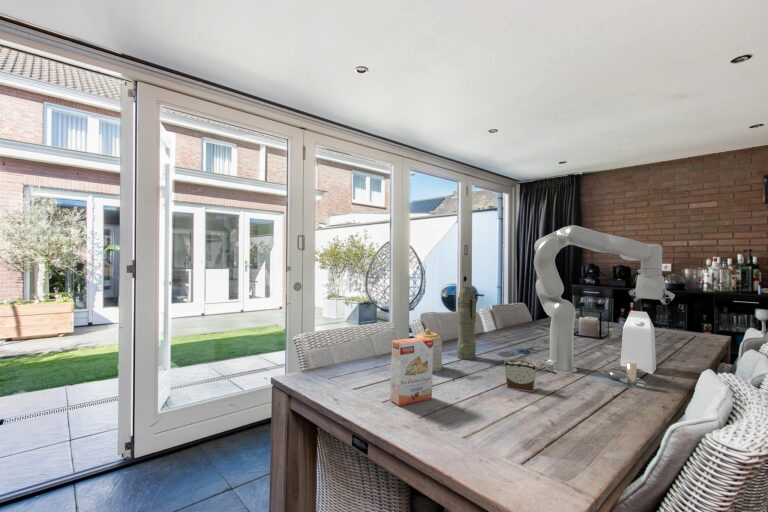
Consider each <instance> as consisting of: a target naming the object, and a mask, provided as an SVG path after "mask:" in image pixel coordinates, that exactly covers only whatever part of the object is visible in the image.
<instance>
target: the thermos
mask: <svg viewBox="0 0 768 512" xmlns="http://www.w3.org/2000/svg"><path fill="white" fill-rule="evenodd" d="M458 292H459V293H458V297H457V323H458V326H457V327H458V333H457V334H458V335H457V337H458V340H457V343H456V352H457V358H458V359H460V360H465V361H470V360H471V361H472V360H475V359H476V348H477V347H476V346H477V345H476V341H475V335H476V334H475V333H476V331H475V329H476V328H475V326H476V325H475V324H476V319H477V300H476V298H475V297H476V295H475V290H474V288H473V287H471V286H462V287H460V289H459V291H458Z"/></svg>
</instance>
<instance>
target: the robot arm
mask: <svg viewBox="0 0 768 512" xmlns="http://www.w3.org/2000/svg"><path fill="white" fill-rule="evenodd" d="M569 245H570V246H571V245H572V246H576V247H579V248H583V249H587V250H590V251H593V252H596V253H602V254H603V253H604V254H614V255H619V257H620V258H621V259H623V260H625V261H633V262H635V261H637V262H639V261H640V268H639V269H637V271H636V272H637V273H638V274H639V275H637V280H636V284H635V288H632V289H630V290H628V294H629V296H630V298H631V299H632V300H633V302H634V308H635V311H639V312H641V310H642V302H641V300H642V299H649V300H659V301H660V302H661V304H660V314H662V315H663V314H667V312H668V304H670V302H672V301H673V300H674V298H675V296H676V293H675V294H674V293H672V292H671V291H670V290H667V287H666V282H665V281H666V280H665V277H664V276H663V246H662V245H661V244H657V243H645V242H642V241H638V240H635V239H631V238H627V237H625V236H618V235H614V234H608V233H604V232H600V231H596V230H593V229H590V228H586V227H582V226H580V225H579V226H578V225H575V224H574V225H573V224H571V225H568V226H564V227H561V228H559V229H557V230H556V231H553V232H551V233H549V234H547V235H546V234H545V236H541V237H540V238H538V239H537V240H536V241H535V243H534V251H535V254H534V259H533V266H534V270H535V273H536V275H537V278H538V279H537V280H536V282H535V291H536V294H537V296H538V299H539V301H540V304H541V306H542V308H543V311H544V312H545V313H546V315H547V316H549V317H550V318H551V319H550V325H549V358H547V360H545V361H543V360H539V361H538V365H539V366H540V367H541V366H542V367H543V366H544V367H545V369H546V370H547V371H549V372H551V373H555V374H557V372H560V373H562V372H563V373H575V372H577V371H578V369H577V368H576V367H574V333H575V332H574V330H575V329H574V328H575V322H576V321H575V320H576V315H577V314H576V311H577V310H576V308H575V305H574V304H573V303H572V302H571V301H569V300H568V299H564V298H562V295H563V293H564V290H565V287H564V283H563V281H562V279H561V277H560V275H559V272H558V269H557V265H556V261H555V260H556V256H557V254H558V253H559V252H560V251H561V249H563V248H564V247H568V246H569ZM666 296H668V298H666Z"/></svg>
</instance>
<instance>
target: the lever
mask: <svg viewBox="0 0 768 512" xmlns="http://www.w3.org/2000/svg"><path fill="white" fill-rule="evenodd" d="M637 370H638V369H637V364H636V363H632V362H627V367H626V372H624V371H622V370H616V369H609V370H607V372H608V377H609V378H611V379H616V380H620V381H622V382H625V383H626V384H628V385H631V386H636V385H637V378H638V377H637V374H638V373H637V372H638V371H637ZM626 374H627V378H626Z"/></svg>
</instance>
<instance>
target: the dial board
mask: <svg viewBox="0 0 768 512" xmlns="http://www.w3.org/2000/svg"><path fill="white" fill-rule="evenodd" d="M588 378H590V379H592V380H593V381H595V382H597V383H601V384H604V385H608V386H614V387H619V388H628V389H629V388H630V389H638V388H639V389H641V388H645V387H646V386H648V383H647V382H646V381H645V380H644V379H641V378H639V377H637V385H636V386H631V385H628V384H626V383H625V382H622V381H620V380H616V379H611V378H609V377H608V371H594V372H593V371H592V372H590V373H588ZM626 378H627V373H626Z"/></svg>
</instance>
